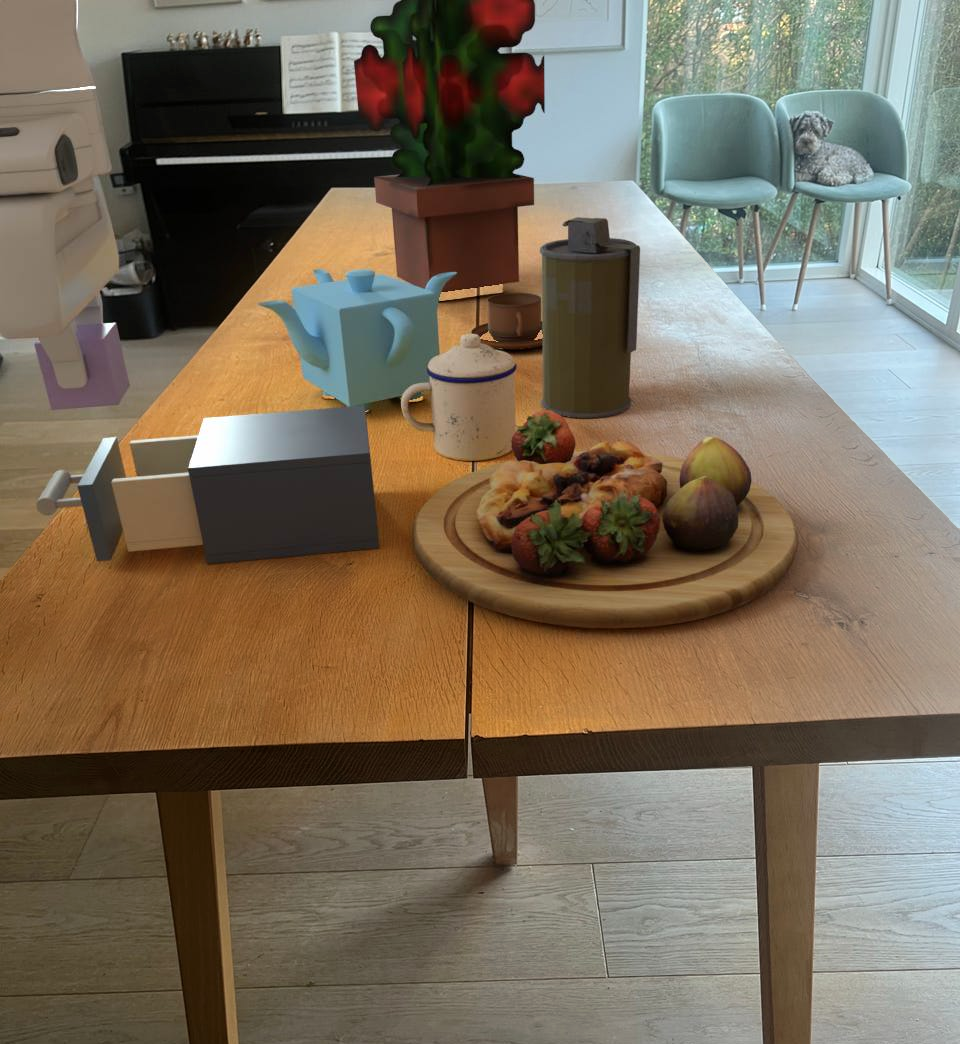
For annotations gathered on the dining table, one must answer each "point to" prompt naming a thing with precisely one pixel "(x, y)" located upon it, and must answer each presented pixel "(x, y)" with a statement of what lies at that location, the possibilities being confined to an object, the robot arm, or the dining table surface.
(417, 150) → the potted plant
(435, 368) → the teacup with lid
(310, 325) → the teakettle
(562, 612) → the wooden plate
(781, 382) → the dining table surface
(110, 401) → the purple block
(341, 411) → the grey drawer box
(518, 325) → the cup and saucer
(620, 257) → the canister
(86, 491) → the drawer
